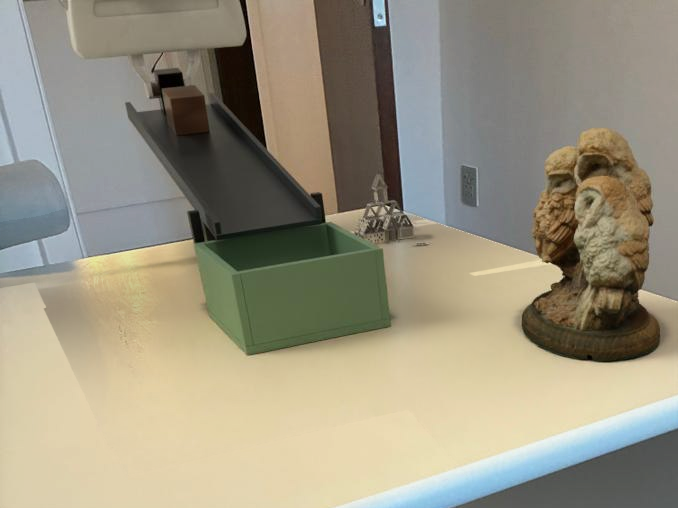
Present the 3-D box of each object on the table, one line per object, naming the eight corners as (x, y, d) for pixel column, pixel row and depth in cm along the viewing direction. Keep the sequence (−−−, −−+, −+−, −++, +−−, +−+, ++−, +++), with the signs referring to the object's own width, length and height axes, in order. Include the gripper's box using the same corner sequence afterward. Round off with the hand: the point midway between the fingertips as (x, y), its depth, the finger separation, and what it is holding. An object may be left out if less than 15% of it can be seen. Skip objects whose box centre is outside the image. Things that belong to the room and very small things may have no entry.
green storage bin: (247, 355, 89) (231, 274, 85) (209, 316, 100) (193, 243, 96) (391, 326, 94) (382, 248, 90) (340, 292, 105) (330, 221, 101)
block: (176, 136, 112) (169, 98, 109) (167, 125, 115) (161, 88, 112) (210, 132, 114) (204, 95, 111) (200, 121, 116) (195, 84, 113)
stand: (210, 314, 101) (189, 212, 95) (168, 271, 116) (147, 182, 110) (335, 291, 105) (322, 193, 100) (279, 253, 121) (264, 166, 115)
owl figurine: (493, 315, 95) (485, 123, 85) (599, 298, 98) (603, 110, 88) (570, 371, 81) (572, 149, 71) (691, 349, 84) (709, 133, 75)
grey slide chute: (216, 241, 94) (208, 187, 90) (128, 118, 118) (118, 71, 114) (322, 224, 98) (318, 172, 94) (215, 108, 121) (209, 63, 118)
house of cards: (365, 255, 118) (357, 188, 113) (341, 242, 124) (332, 177, 120) (431, 244, 121) (426, 178, 116) (404, 231, 127) (398, 168, 123)
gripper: (52, -38, 103) (89, 107, 111) (237, -48, 110) (259, 89, 118) (45, -37, 107) (81, 102, 116) (223, -47, 114) (245, 86, 123)
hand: (172, 96), depth 117 cm, fingers closed on grey slide chute, 3 cm apart
